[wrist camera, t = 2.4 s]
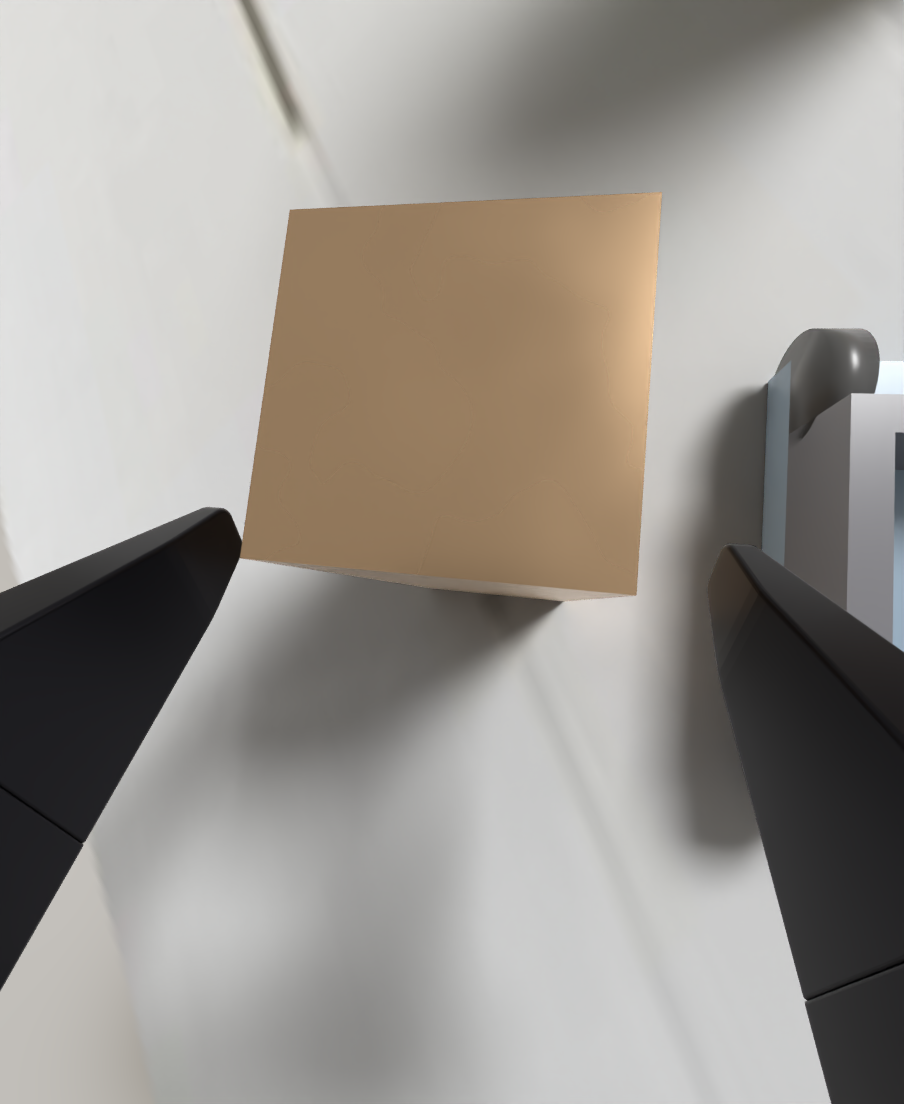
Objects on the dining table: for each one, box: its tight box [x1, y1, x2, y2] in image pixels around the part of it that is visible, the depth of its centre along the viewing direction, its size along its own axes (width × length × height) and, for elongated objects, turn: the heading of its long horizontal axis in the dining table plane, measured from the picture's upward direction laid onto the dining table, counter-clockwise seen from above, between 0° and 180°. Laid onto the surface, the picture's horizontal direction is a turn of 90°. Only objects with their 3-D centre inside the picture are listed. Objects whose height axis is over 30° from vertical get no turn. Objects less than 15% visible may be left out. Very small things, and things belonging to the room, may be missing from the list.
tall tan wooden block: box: [240, 192, 662, 601], centre depth 12 cm, size 5×5×12 cm
